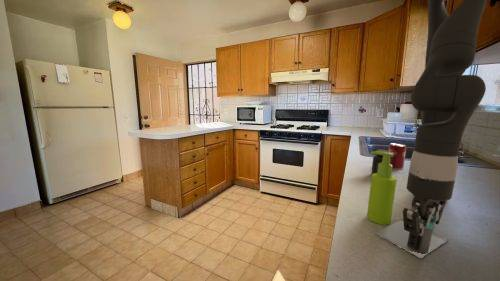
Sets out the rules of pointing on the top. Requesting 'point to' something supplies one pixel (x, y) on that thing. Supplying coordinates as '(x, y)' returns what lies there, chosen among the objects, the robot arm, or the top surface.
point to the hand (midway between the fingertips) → (418, 244)
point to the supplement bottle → (377, 161)
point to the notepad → (405, 235)
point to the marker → (425, 239)
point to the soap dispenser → (382, 191)
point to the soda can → (397, 155)
